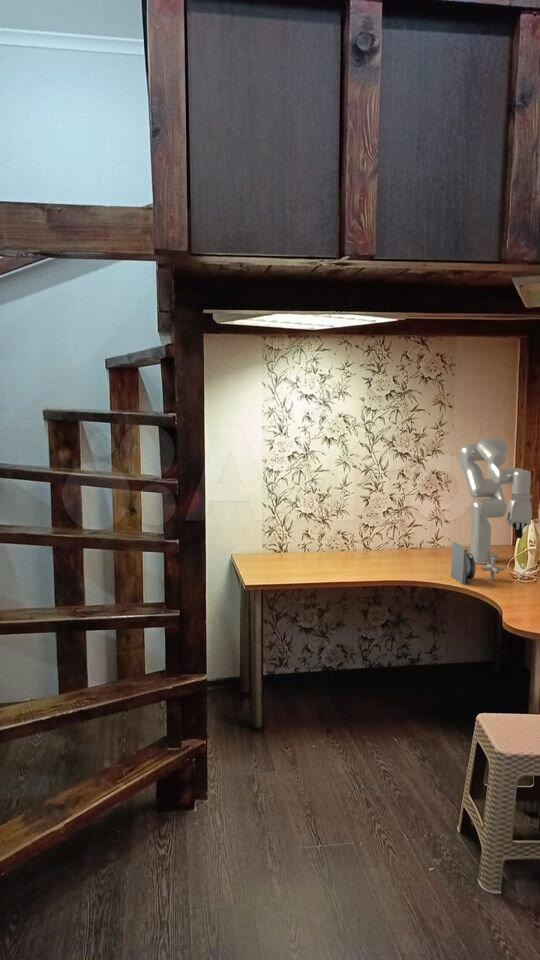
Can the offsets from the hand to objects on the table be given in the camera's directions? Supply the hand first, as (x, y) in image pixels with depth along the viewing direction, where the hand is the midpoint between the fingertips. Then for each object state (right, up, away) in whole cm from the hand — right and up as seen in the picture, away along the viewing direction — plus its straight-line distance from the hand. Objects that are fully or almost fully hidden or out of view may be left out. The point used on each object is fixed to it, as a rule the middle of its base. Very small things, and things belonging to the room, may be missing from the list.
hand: (518, 537), depth 297 cm
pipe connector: (-11, -19, +2) cm, 23 cm away
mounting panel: (-25, -19, 0) cm, 32 cm away
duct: (-24, -19, 0) cm, 31 cm away
